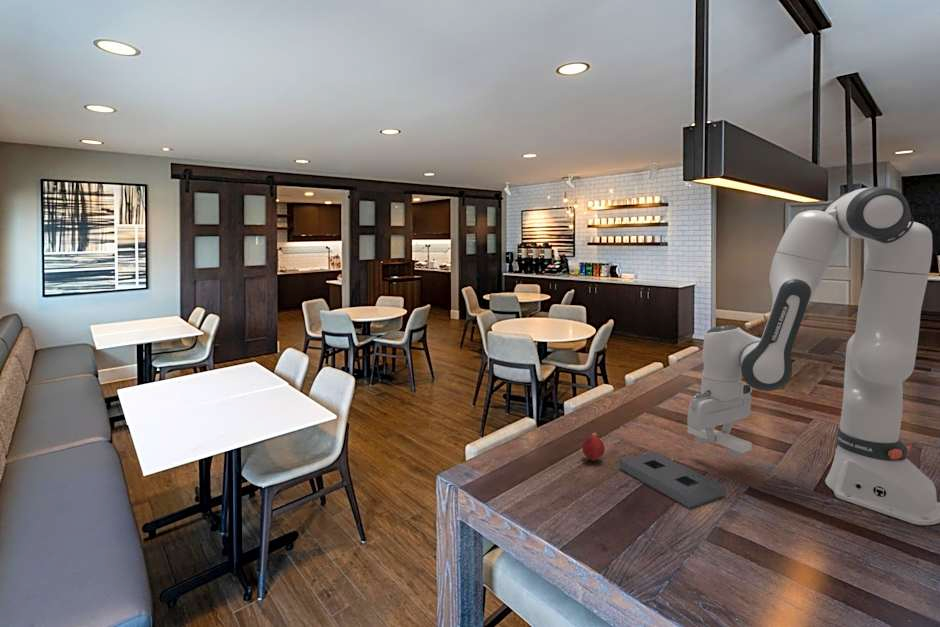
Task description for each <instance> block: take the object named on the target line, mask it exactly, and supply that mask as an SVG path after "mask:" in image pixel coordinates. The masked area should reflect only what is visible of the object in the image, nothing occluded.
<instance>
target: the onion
mask: <svg viewBox="0 0 940 627" xmlns="http://www.w3.org/2000/svg"><path fill="white" fill-rule="evenodd" d="M581 446H582V453H583V455H584V456H585V457H586V458H587V459H589V460H590V461H592V462H595V461H597V460H599V459H600V458H601V457H603V455H604V453H605V451H606V450H605V449H606V448H605V445H604V442H603V441H602V439H601V438H600V437H598V434H597V433H596V432H594V433H592V434H591V435H590V436H588V437H587V438H585V439H584V441H583V443H582V445H581Z"/></svg>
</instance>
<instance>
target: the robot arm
mask: <svg viewBox="0 0 940 627" xmlns="http://www.w3.org/2000/svg"><path fill="white" fill-rule="evenodd" d="M911 212H912V211H911V208H910V205H909V202H908V199H906V197H905V196H904V195H903V194H902V192H900V191H899V190H898V189H897V190H896V189H895V188H891V187H887V186H873V187H863V188H859V189H855V190H853V191H851V192H845V193H843V194H841V195H839V196H838V197H836V198H835V199H834V200H832V201H831V202H829V204H828V205H826V206H825V207H824V208H823V209H822V210H818V209H817V210H816V209H814V210H813V209H812V210H806V211H802V212H799V213H798V214H796V215H795V216H794V218H793V219H792V220H791V221H790V223H789V225H788V227H787V228H786V230H785V231H784V233H783V236H782V238H781V239H780V241H779V243H778V245H777V248H776V251H775V254H774V255H773V259H772V261H771V266H770V271H769V278H768V280H769V281H768V282H769V285H770V289H771V294H772V295H771V296H772V302H771V303H772V305H771V310H770V313H769V315H768V317H767V318H768V319H767V321H766V324H765V327H764V330H763V333H762V336H761V337H758V336H754V335H752V334H750V333H749V332H746V331H744V330H743V329H741V328H740V327H739V326H737V325H732V324H730V325H728V324H727V325H719V326H715V327H712V328H710V329H709V330H707V331H706V333H705V335H704V340H703V346H702V358H701V359H702V363H703V370H702V373H701V388H700V391H701V392H697V393H695V395H694V396H693V398H691V400H690V402H689V405H688V411H687V412H688V413H687V419H686V420H687V422H686V423H687V427H688V426H689V427H690V428H692V429H695V430H698V431H701V430H705V432H706V434H707V441H708V443H714V442H716V441H717V435H714V432H713V430H716V427H719V426H722V428H721V430H720V431H721V432H724V433H726V434H729V435H731V434H730V433H731V430H732V428H733V426H734V422H737V421H740V420H743V419H747V418H748V417H749V415H750V414H751V409H752V395H751V394H752V392H753V389H755V390H758V391H762V392H773V391H777V390H780V389H782V388H783V387H785V386H786V385H787V384H788V383H789V382H790V380H791V379H792V375H793V365H792V362H793V361H792V349H793V346H794V343H795V341H796V338H797V335H798V333H799V330H800V327H801V324H802V322H803V318H804V316H805V313H806V310H807V308H808V306H809V304H810V302H811V301H812V298H813V296H814V294H815V292H816V291H817V290H818V288H819V285H820V284H821V283H822V280H823V278H824V276H825V275H826V272H827V271H828V267H829V264H830V263H831V260H832V258H833V255H834V252H835V251H836V250H837V248H838V246H839V245H840V244H841V242H843V241H844V240H846V239H850V238H851V239H858V240H859V239H862V240H864V241H865V243H866V244H867V250H868V253H867V254H868V257H867V260H866V263H865V264H866V265H865V269H864V270H865V271H864V274H863V279H862V284H861V289H860V293H859V298H858V305H857V315H856V322H855V330H854V333H853V334H852V335H851V337H850V338H849V339H848V341H847V344H846V350H845V361H844V362H845V363H844V376H843V377H844V378H843V393H842V394H843V396H842V397H843V398H842V403H841V404H842V405H841V406H842V407H841V413H840V414H841V415H840V424H839V427H837V429H836V430H837V431H836V436H835V446H834V448H835V449H836V450H835V453H834V458H833V462H832V465H831V467H830V469H829V471H828V474H827V476H826V477H825V480H824V482H825V484H826V485H827V487H828V488H829V489H830V490H832V491H833V492H834V496H835V497H836V498H837V499H840V500H843V501H846V502H849V503H852V504H854V505H857V506H860V507H863V508H866V509H869V510H872V511H875V512H878V513H879V514H880V513H881V514H883V515H887V516H890V517H892V518H896V519H898V520H901V521H904V522H907V523H909V524H912V525H913V524H914V525H918V526H930V525H936V524H940V501H937V500H938V498H937V490H936V485H935V483H934V482H933V481H932V480H931V478H930V477H928V476H926V474H925V473H924V472H922V471H921V470H920V468H918V467H917V466H916V465H915V464H914V463H913V462H911V460H909V459H908V452H909V451H911V449H912V448H911V447H912V445H907V446H906V445H905V444H904V443H903V442H902V441H901V439H900V434H901V433H900V432H901V425H902V419H903V418H902V417H903V411H904V410H903V409H904V404H903V403H904V400H903V398H904V397H903V396H904V395H903V391H904V390H903V382H905V381H906V380H907V379H908V378H909V377H910V376H911V375H912V373H913V371H914V369H915V363H916V357H917V351H918V344H919V343H918V342H919V336H920V335H919V334H920V325H921V314H922V306H923V301H924V297H925V293H926V288H927V284H928V280H929V275H930V272H931V266H932V260H933V259H932V257H933V233H932V231H931V229H930V228H929V227H928V226H926V225H925V224H922V223H921V222H920V223H919V222H918V221H917V222H916V221H914V217H913V214H912V213H911ZM741 377H742V378H743V379H744V381H745V382H742V381H741Z"/></svg>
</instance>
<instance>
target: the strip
mask: <svg viewBox="0 0 940 627" xmlns="http://www.w3.org/2000/svg"><path fill="white" fill-rule="evenodd" d="M713 432H714V435H717V441H716V442H713V443H714V444H718V445H720V446H722V447H725V448H727V450H728V451H727V455H729V456H731V457H734V458H740V457H743V456H744V453H747V452H749V451H752V448H753V446H752V445H753V442H752V441H749V440H746V439H743V438H740V437H738V436H734V435H732V434H726V433H724V432H721V430H717V429H715V430H713ZM687 433H688V434H689V435H690V434H692V435H693V436H694V440H693V441H694V442H696V443H698V444H700V445H705V444H707V443H709V441H707V434H706V432H705V430H701V431H698V430H695V429H692V428H690V427H689V426H688V425H687Z"/></svg>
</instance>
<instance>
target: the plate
mask: <svg viewBox="0 0 940 627" xmlns="http://www.w3.org/2000/svg"><path fill="white" fill-rule="evenodd" d="M653 468H654V469H653ZM620 469H622V470H623V471H622V470H621V471H622V472H624V471H625V472H624V473H626V472H627V473H628V474H627V473H626V474H627V475H629V474H630V475H629V476H631V475H632V476H631V477H633V476H634V477H635V478H634V477H633V478H634V479H636V478H637V479H636V480H638V479H639V480H638V481H640V482H642V483H643V484H645V485H647V486H648V487H650V488H652V489H654V490H655V491H657V492H659V493H661V494H663V495H664V494H665V496H666V497H668V498H670V499H671V500H673V501H675V502H677V501H678V502H677V503H679V504H680V503H681V505H682V506H684V507H686V508H688V509H693V508H696V507H699V506H701V505H702V506H703V505H705V504H707V503H710V502H713V501H716V500H719V499H722V498H725V497H726V491H727V490H726V489H727V486H726V485H724V484H722V483H719V482H718V481H716V480H714V479H711V478H709V477H707V476H705V475H704V474H701V473H700V472H696V471H695V470H692V469H691V468H688V467H686V466H685V465H682V464H681V463H679V462H676V461H674V460H672V459H671V458H668V457H665V456H664V455H661V454H659V453H657V452H655V451H649V452H646V453H641V454H638V455H634V456H630V457H627V458H622V459H620V460H619V470H620Z"/></svg>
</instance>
